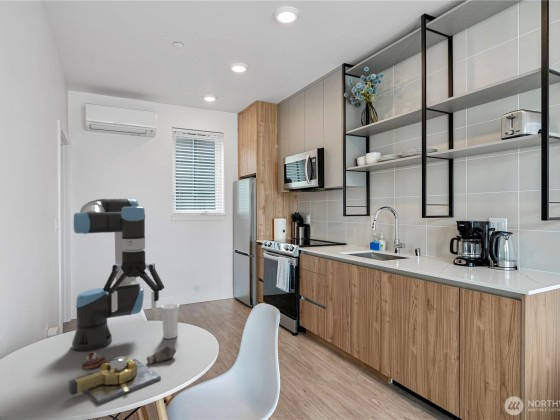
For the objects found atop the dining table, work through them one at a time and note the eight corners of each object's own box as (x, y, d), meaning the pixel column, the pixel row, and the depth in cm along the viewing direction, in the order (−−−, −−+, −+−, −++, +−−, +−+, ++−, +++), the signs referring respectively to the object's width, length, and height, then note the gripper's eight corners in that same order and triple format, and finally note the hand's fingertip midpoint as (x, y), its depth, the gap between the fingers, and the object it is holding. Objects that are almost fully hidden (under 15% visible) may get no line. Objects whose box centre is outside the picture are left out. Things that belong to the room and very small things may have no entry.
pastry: (83, 362, 129) (83, 349, 129) (105, 359, 132) (105, 346, 132) (80, 372, 122) (80, 358, 122) (104, 368, 125) (103, 354, 125)
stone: (146, 368, 126) (160, 356, 124) (142, 355, 128) (156, 343, 127) (167, 365, 134) (180, 354, 132) (162, 352, 137) (175, 341, 135)
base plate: (76, 381, 115) (76, 360, 115) (135, 361, 129) (134, 343, 129) (99, 406, 100) (99, 382, 100) (162, 380, 115) (162, 359, 115)
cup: (176, 340, 150) (176, 308, 150) (158, 340, 150) (157, 308, 150) (181, 333, 158) (181, 303, 158) (164, 333, 158) (164, 303, 158)
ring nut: (128, 365, 123) (128, 353, 123) (141, 375, 115) (141, 363, 115) (65, 387, 108) (64, 374, 108) (76, 400, 101) (75, 386, 101)
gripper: (91, 252, 114) (92, 314, 114) (166, 251, 115) (167, 313, 115) (102, 249, 121) (103, 307, 122) (172, 248, 122) (173, 306, 123)
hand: (134, 310), depth 118 cm, fingers open, 13 cm apart
